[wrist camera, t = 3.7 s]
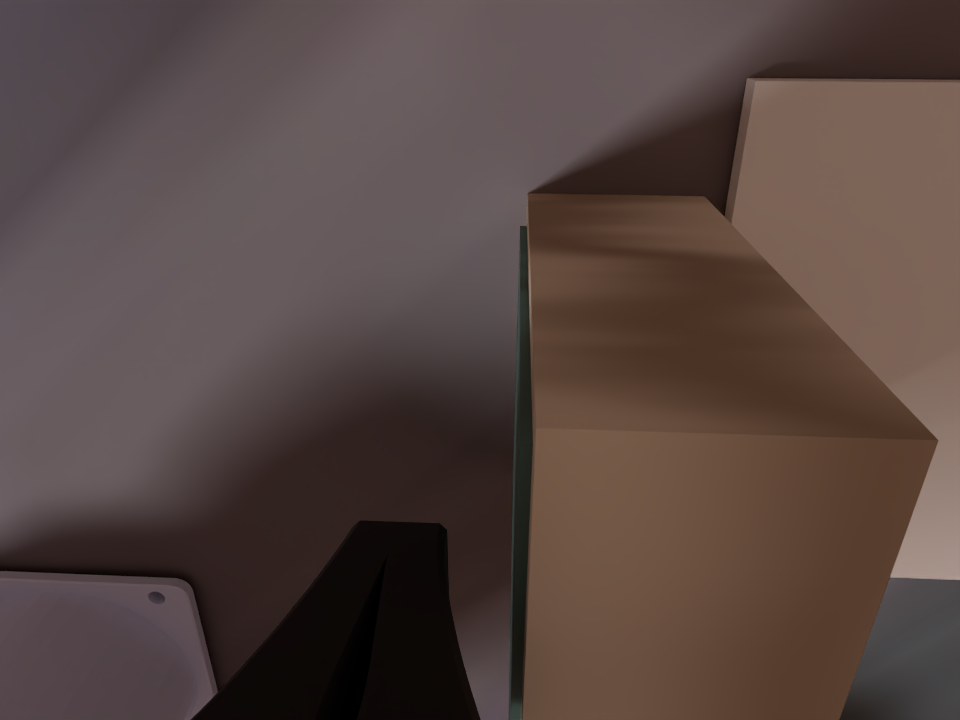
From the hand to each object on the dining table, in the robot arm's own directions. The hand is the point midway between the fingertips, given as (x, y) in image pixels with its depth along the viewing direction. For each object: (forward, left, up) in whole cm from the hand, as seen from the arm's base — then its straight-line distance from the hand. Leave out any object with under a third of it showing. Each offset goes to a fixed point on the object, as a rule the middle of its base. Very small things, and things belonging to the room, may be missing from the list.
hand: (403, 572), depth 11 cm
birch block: (+4, 0, -8) cm, 9 cm away
